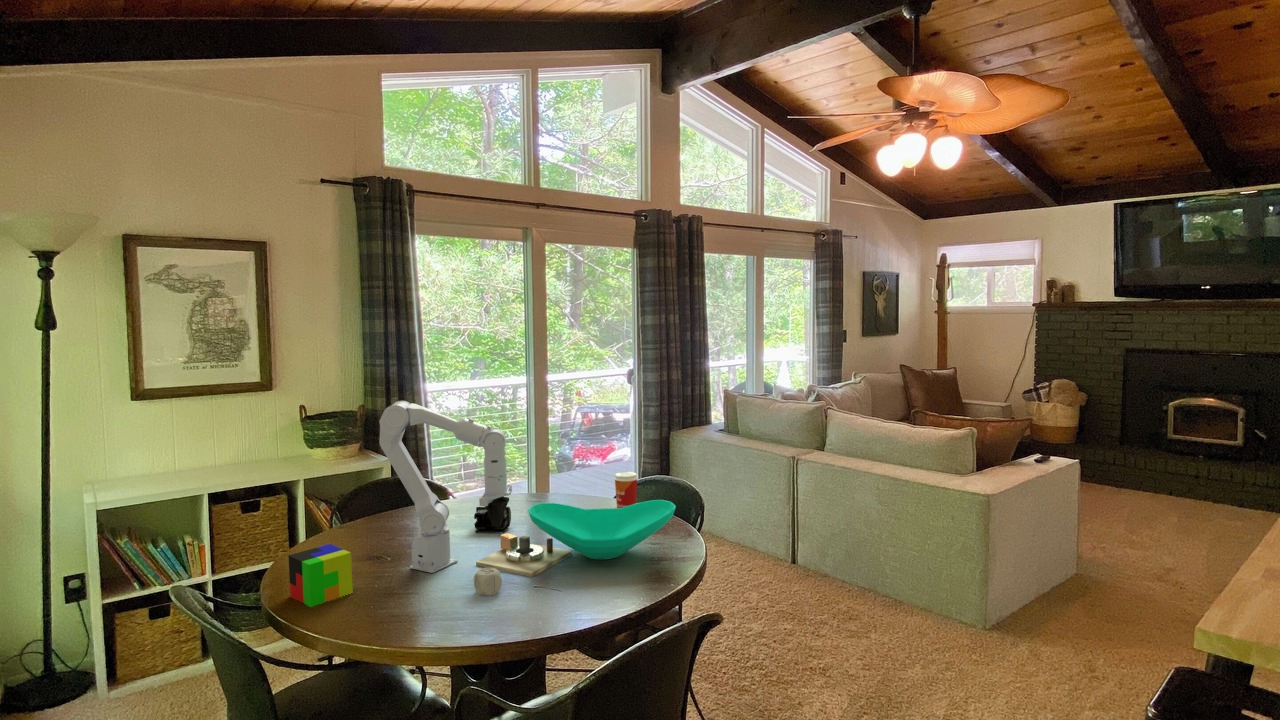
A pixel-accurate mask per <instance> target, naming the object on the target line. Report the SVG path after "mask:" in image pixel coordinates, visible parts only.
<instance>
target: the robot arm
mask: <svg viewBox="0 0 1280 720" xmlns="http://www.w3.org/2000/svg"><path fill="white" fill-rule="evenodd" d="M421 424H426V425H429V426H431V427H435V428H438V429H441V430H444V431H447V432H451V433H453V435H454V436H455V439H456V440H458V441H461V442H463V443H467V444H469V445H471V446H475V447H478V448H483V450H484V459H483V466H484V467H483V469H484V470H483V472H484V492H483V494H482V496H481V497H479V498H478V499H479V501H478V502H479V503H478V504H479V507H486V509H487V511H488V513H489V516H490V519H491V523H492V526H496V527H500V526H501V525H502V522H503V516H504V512H505V509H506V507H508V504H509V502H510V497H508V496H510V495H512V492H513V490H512V489H513V488H512V487H513V486H512V484H508V482H507V481H508V480H507V479H508V477H507V476H508V475H507V474H508V473H507V457H506V453H507V451H506V444H507V442H506V441H507V439H506V438H507V437H506V434H505V432H504V431H503V430H501V429H500V428H498V427H492V426H491V425H489V424H488V425H484V424H482V423H478V422H476V421H475V419H474V418H471V417H469V419H468V418H462V419H460V420H456V419H454V418H452V417H449V416H447V415H444V414H442V413H440V412H438V411H435V410H432V409H430V408H428V407H425V406H422V405H419V404H417V403H414V402H413V403H410V402H408V401H406V400H398V401H397V400H396V401H395V402H393V403H392V404H391V405H389V406H387V407H386V408H385V409H384V411H383V413H382V414H381V416H380V419H379V446H380V449H381V450H382V451H383V453H384V454H385V457H386V458H387V460H388V461H389V463H390V465H391V466H392V468H393V470H394V472H395V473H396V474H397V477H398V478H399V480H400V481H401V483H402V484H403V486H404V488H405V490H406V491H407V493H408V495H409V497H410V498H411V500H412V502H413V503H414V507H415V511H416V512H415V513H416V514H417V515H418V519H419V526H420V533H419V535H418V536H417V537H416V538H414V539H413V541H412V544H411V563H412V564H411V565H410V566H409V568H410V569H413V570H417V571H421V572H426V573H431V574H433V573H436V572H439V571H441V570H442V569H445V568H446V567H449V566H451V565H453V564H455V563H457V562H458V559H457V558H453V557H451V542H450V541H451V537H450V527H449V525H448V524H447V520H448V518H449V516H450V510H449V507H448V505H446V503H444V502H442V501H441V500H440V499H439V497H438V496H437V495H436V494H435V493H434V492H432V490H431V488H430V486H428V483H427V482H426V480H425V478H424V476H423V475H422V473H421V472H420V470H419V468H418V467H417V465H416V463H415V460H414V459H413V458H412V456H411V454H410V453H409V451H408V449H407V448H406V446H405V445H404V443H403V441H402V439H403V437H404V435H405V431H406V428H407V427H408V426H414V425H421Z"/></svg>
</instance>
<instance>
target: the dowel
mask: <svg viewBox="0 0 1280 720" xmlns="http://www.w3.org/2000/svg"><path fill="white" fill-rule="evenodd" d="M553 540H554V539H553V537H547V538H546V546H547V552H548V553H551V552H553V547H554V544H553V543H554V541H553Z"/></svg>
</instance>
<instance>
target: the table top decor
mask: <svg viewBox="0 0 1280 720" xmlns="http://www.w3.org/2000/svg"><path fill="white" fill-rule="evenodd" d="M676 507H677V506H676V504H674V503H673V502H672V501H669V500H664V499H653V500H652V499H651V500H647V501H640V502H636V504H633V505H630V506H626V507H623V508H617V507H616V508H588V509H587V508H586V509H585V508H580V507H577V506H574V505H568V504H563V503H555V502H539V503H536V504H534V505H531V506H530V507H529V509H527V511H528V515H529V517H530V520H531V522H533V524H534V525H535V526H537V528H539V529H540V530H541V531H543V532H544V533H545V534H547V535H549V536H550V537H551V538H552V539H553V538H554V539H555V540H557V541H558V542H561V543H562V544H563V545H565V546H567V547H568V548H570V549H571V550H573V551H575V552H578V553H579V554H581V555H582V556H584V557H586V558H588V559H591V560H610V559H611V560H613V559H615V558H618V557H620V556H622V555H623V554H626V553H627V552H628V551H630V550H631V549H633V548H634V547H636V546H637V545H639V544H640V543H641V542H643V541H645V540H646V539H648V538H649V537H651V536H652V535H653V534H655V533H657V532H658V531H659V530H660V529H661V528H663V527H664V526H665V525H666V524H668V522H669V521H670V520H671V519H672V518H673V516H674V514H675V510H676Z"/></svg>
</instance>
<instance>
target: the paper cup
mask: <svg viewBox="0 0 1280 720" xmlns="http://www.w3.org/2000/svg"><path fill="white" fill-rule="evenodd" d="M638 479H639V476H638V474H637V473H636V472H635V471H634V472H633V471H622V472H617V473H615V475H614V477H613V480H614V485H615V486H614V487H615V500H616V508H623V507H626V506H630V505H633V504H636V503H637V492H638V491H637V489H638V488H637V487H638Z"/></svg>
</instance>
